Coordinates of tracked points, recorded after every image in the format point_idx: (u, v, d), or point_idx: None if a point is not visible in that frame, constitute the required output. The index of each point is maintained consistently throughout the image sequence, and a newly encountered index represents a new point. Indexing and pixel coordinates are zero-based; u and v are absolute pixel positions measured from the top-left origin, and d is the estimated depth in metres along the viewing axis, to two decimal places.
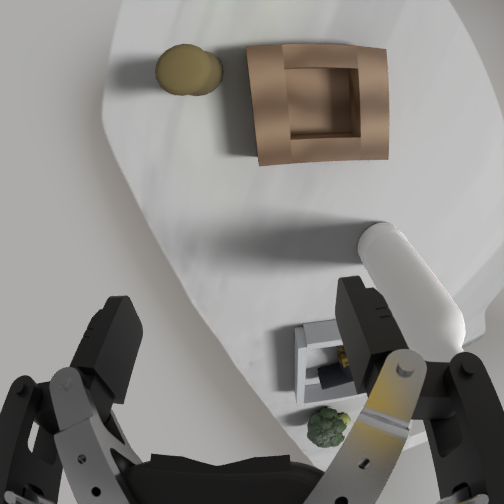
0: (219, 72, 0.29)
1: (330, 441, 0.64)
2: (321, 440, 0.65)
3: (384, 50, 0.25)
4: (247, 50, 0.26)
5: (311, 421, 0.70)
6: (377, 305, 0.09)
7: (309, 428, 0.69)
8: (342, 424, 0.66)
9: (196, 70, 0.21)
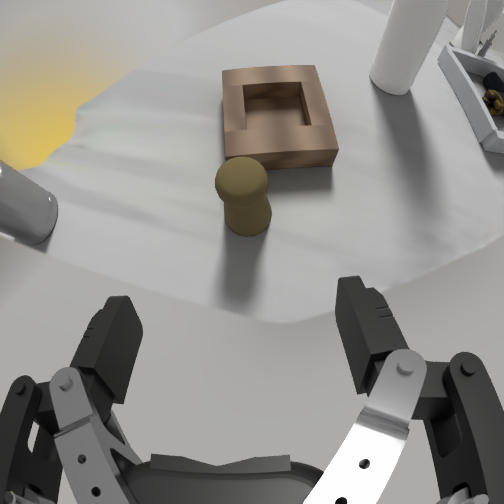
0: None
1: None
2: None
3: (223, 71, 0.38)
4: (228, 155, 0.34)
5: None
6: (377, 305, 0.09)
7: None
8: None
9: (244, 161, 0.27)
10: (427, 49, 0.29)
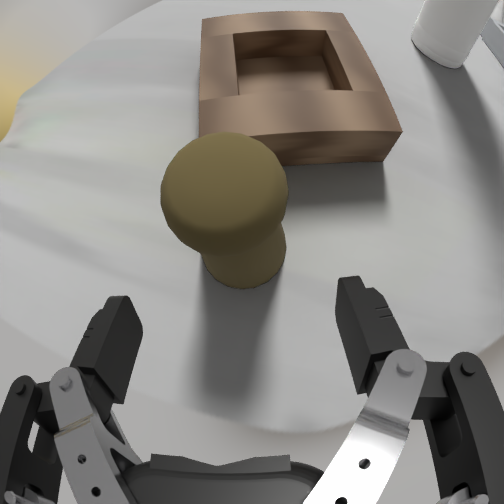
0: None
1: None
2: None
3: (204, 19, 0.21)
4: None
5: None
6: (377, 305, 0.09)
7: None
8: None
9: (228, 141, 0.11)
10: (493, 7, 0.13)
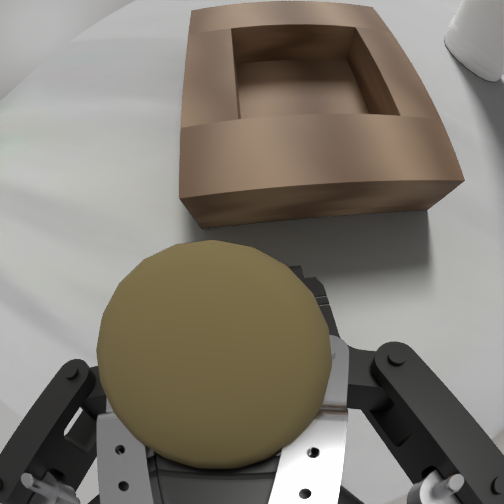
0: None
1: None
2: None
3: (193, 11, 0.16)
4: (189, 194, 0.12)
5: None
6: (315, 293, 0.10)
7: None
8: None
9: (214, 284, 0.05)
10: None
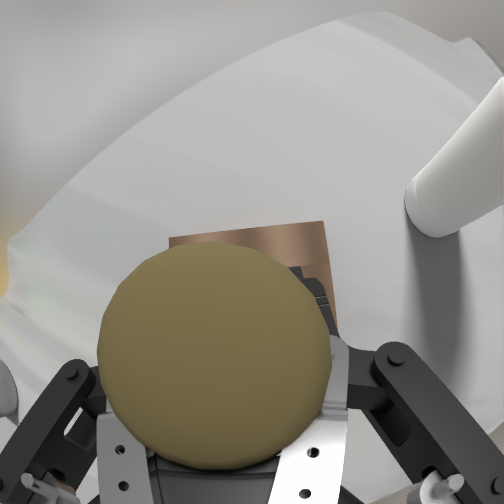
0: None
1: None
2: None
3: (170, 240, 0.26)
4: None
5: None
6: (315, 293, 0.10)
7: None
8: None
9: (214, 285, 0.05)
10: None
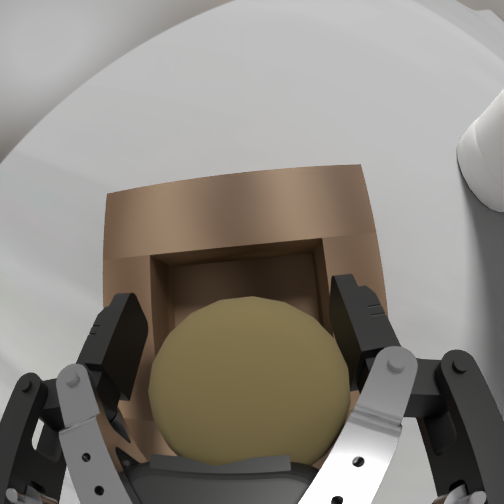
0: None
1: None
2: None
3: (109, 197, 0.15)
4: None
5: None
6: (369, 303, 0.09)
7: None
8: None
9: (260, 346, 0.06)
10: None
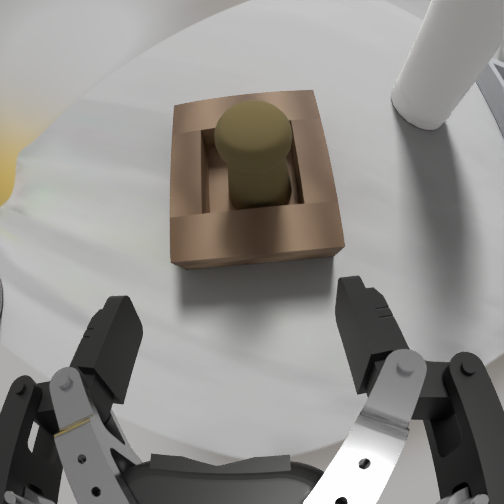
0: None
1: None
2: None
3: (175, 106, 0.26)
4: (175, 260, 0.23)
5: None
6: (377, 305, 0.09)
7: None
8: None
9: (257, 104, 0.17)
10: (480, 71, 0.17)
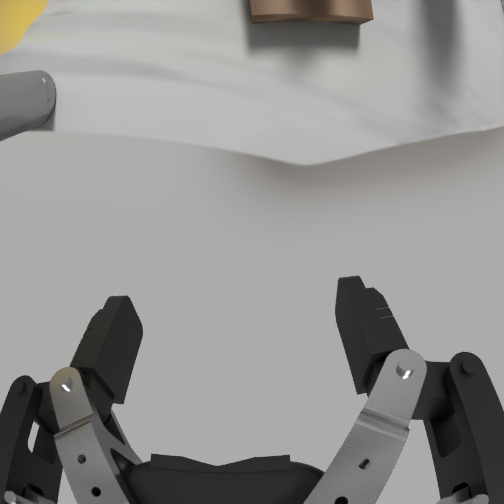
0: None
1: None
2: None
3: None
4: (256, 14, 0.24)
5: None
6: (377, 305, 0.09)
7: None
8: None
9: None
10: None
